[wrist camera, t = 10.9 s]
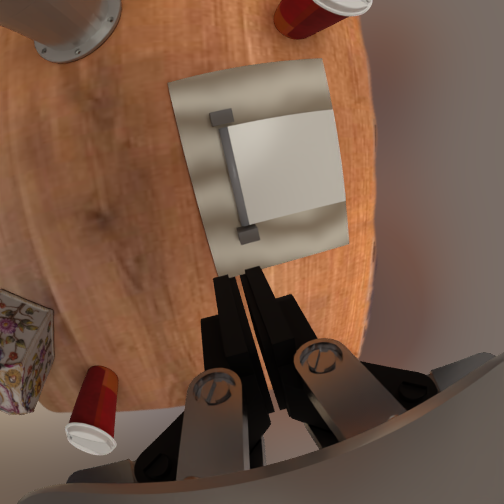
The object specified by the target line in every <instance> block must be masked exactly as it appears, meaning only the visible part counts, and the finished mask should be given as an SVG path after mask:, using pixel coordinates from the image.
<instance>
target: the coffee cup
mask: <svg viewBox="0 0 504 504" xmlns="http://www.w3.org/2000/svg"><path fill="white" fill-rule="evenodd" d="M117 391H118V377H117V375H116V374H115V373H114V372H113V371H112V370H110V369H108V368H106V367H103V366H93V367H91V368H90V369H89V370H88V372H87V374H86V377H85V379H84V382H83V384H82V387H81V390H80V392H79V395H78V398H77V400H76V403H75V406H74V409H73V412H72V415H71V418H70V421H69V424H67V425H66V427H65V431H66V433H67V439H68V441H69V442H70V443H71V444H72V445H73V446H75V447H76V448H78V449H80V450H82V451H84V452H87V453H90V454H94V455H106V454H109V453H110V452H112V451H113V449H114V448H115V447H116V442H115V440H114V426H115V413H116V401H117Z"/></svg>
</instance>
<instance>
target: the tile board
mask: <svg viewBox="0 0 504 504" xmlns="http://www.w3.org/2000/svg"><path fill="white" fill-rule="evenodd" d="M168 87H169V92H170V96H171V101H172V105H173V109H174V113H175V118H176V122H177V126H178V130H179V134H180V138H181V142H182V146H183V150H184V154H185V158H186V162H187V166H188V170H189V173H190V177H191V181H192V185H193V189H194V192H195V196H196V200H197V203H198V207H199V211H200V214H201V218H202V221H203V225H204V228H205V232H206V235H207V239H208V242H209V246H210V249H211V253H212V256H213V260H214V263H215V266H216V270H217V273H218V276H219V277H220V276H223V275H227V274H228V276H229V278H231V277H234V276H238V275H242V274H245V269H249V268H252V267H256V266H260V267H261V269H264V268H267V267H271V266H274V265H278V264H281V263H285V262H288V261H292V260H296V259H299V258H303V257H306V256H310V255H313V254H317V253H320V252H323V251H327V250H330V249H334V248H337V247H341V246H344V245H347V244H349V235H348V222H347V211H346V201H343V202H339V203H335V204H330V205H326V206H322V207H318V208H314V209H310V210H306V211H302V212H298V213H294V214H290V215H286V216H282V217H278V218H274V219H270V220H266V221H262V222H259V223H255V224H251V225H248V226H241V224H240V220H239V215H238V211H237V207H236V203H235V198H234V194H233V190H232V185H231V181H230V177H229V173H228V168H227V164H226V160H225V156H224V151H223V147H222V143H221V138H220V134H219V130H218V129H220V128H224V127H228V126H233V125H238V124H242V123H247V122H252V121H257V120H263V119H268V118H274V117H280V116H286V115H292V114H299V113H306V112H314V111H322V110H331V109H332V103H331V98H330V93H329V88H328V83H327V79H326V74H325V69H324V65H323V61H322V58H319V59H302V60H289V61H279V62H270V63H262V64H255V65H248V66H242V67H236V68H231V69H225V70H220V71H215V72H210V73H206V74H201V75H197V76H193V77H189V78H185V79H181V80H177V81H173V82H170V83H168Z"/></svg>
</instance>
